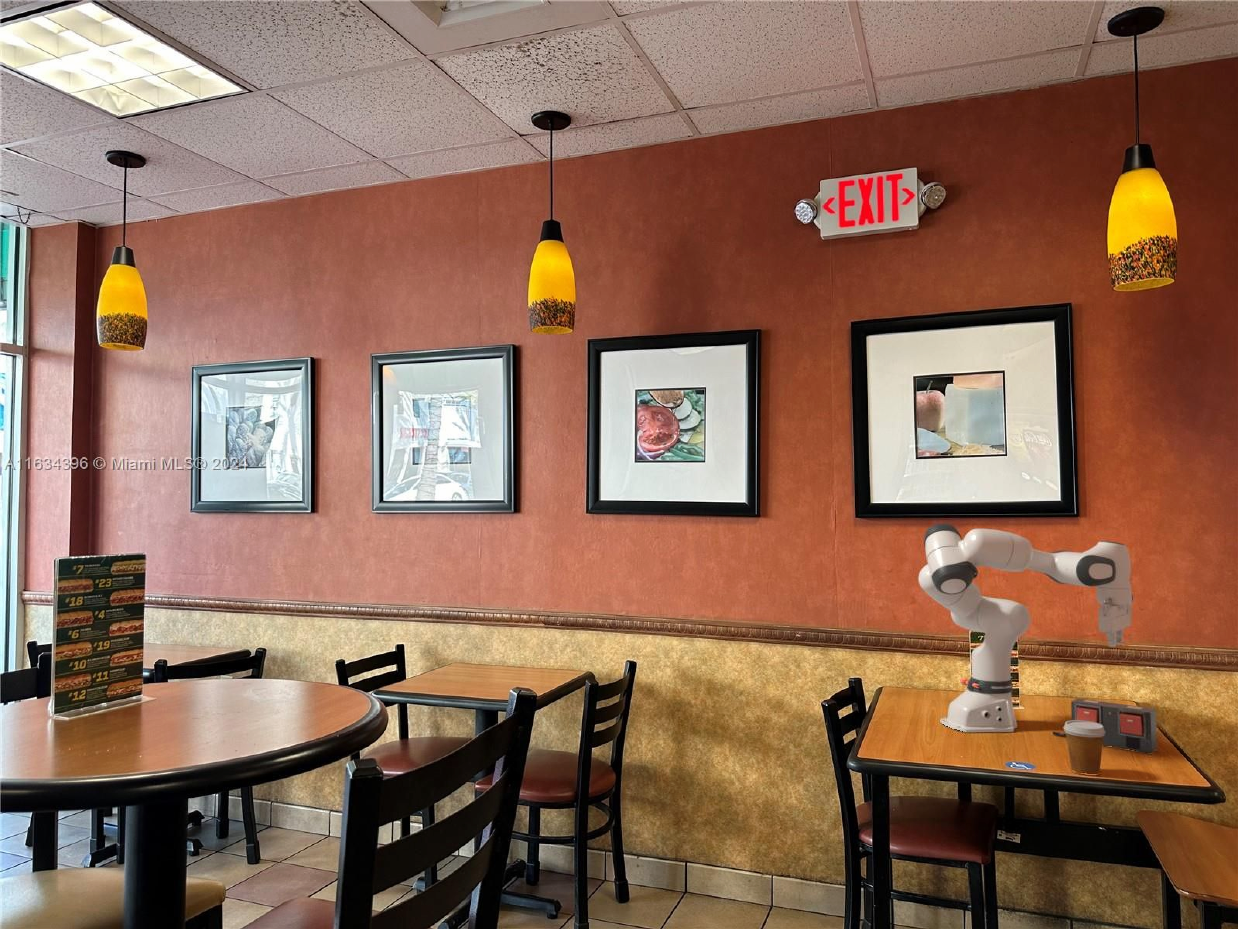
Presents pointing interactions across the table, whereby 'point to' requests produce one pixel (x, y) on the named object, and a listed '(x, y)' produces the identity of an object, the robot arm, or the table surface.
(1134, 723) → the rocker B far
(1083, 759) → the disposable coffee cup
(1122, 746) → the double rocker switch box
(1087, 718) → the rocker
